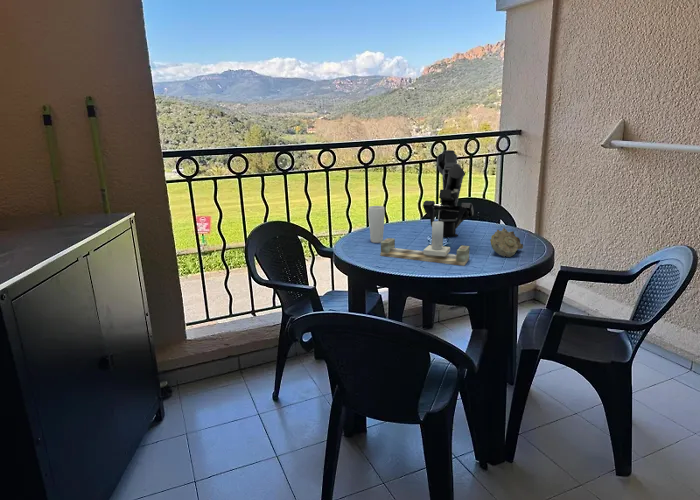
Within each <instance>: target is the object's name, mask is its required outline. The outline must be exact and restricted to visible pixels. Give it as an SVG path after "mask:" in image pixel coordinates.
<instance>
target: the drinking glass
mask: <svg viewBox="0 0 700 500" xmlns="http://www.w3.org/2000/svg"><path fill="white" fill-rule="evenodd" d="M367 211H368V214H367V215H368V216H367V217H368V225H369V235H370V238H369V239H370V242H371V243H373V244H381V242H382V241H384V231H385V230H384V228H385V216H386V215H385V213H386V212H385V206H384V205H371V206H369V207H368V210H367Z"/></svg>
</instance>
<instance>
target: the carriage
mask: <svg viewBox="0 0 700 500" xmlns="http://www.w3.org/2000/svg"><path fill="white" fill-rule="evenodd" d="M443 245H444V237H443V222H442V221H438V220H434V221H433V222H432V227H431V244H429V245H428V246H426V247H425V248H424V249H423V251H424V254H427V255H436V256H446V255H447V254H450V252H451V247H450V246H443Z"/></svg>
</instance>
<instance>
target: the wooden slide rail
mask: <svg viewBox="0 0 700 500" xmlns="http://www.w3.org/2000/svg"><path fill="white" fill-rule="evenodd" d="M395 242H396V239H395V238H392V237H391V238H390V237H387V238H385V239H383V241H382V242H381V243H380V254H379V255H380V257H387V258H394V259H395V258H397V259H405V260H413V261H419V262H420V261H421V262H428V263H438V264H444V265H445V264H446V265H454V266H461V267H465V265H466V264H467V263H468V262H469V260H470V248H471V247H470V245H460V246H459V248H458V249H456V254H454V253H448V254H447V255H446V256H436V255H427V254H424V250H417V249H407V248H397V247H396V245H395V244H396V243H395Z"/></svg>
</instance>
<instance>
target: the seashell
mask: <svg viewBox="0 0 700 500" xmlns="http://www.w3.org/2000/svg"><path fill="white" fill-rule="evenodd" d="M490 238H491V239H489V240H490V246H491V248H492V250H493V251H494V252H495V253H496V254H497V255H499V256H501V257H504V258H505V256H506V257H507V258H511V257H513V256H515V254H516V253H517V251H518V250H523V248H524V244H523V243H521V239H520V238H519V237H518V236H516V234H515V231H513V230H512V231H508V230H507V229H506V228H505V227H503V228H502V230H500V229H497V230H496V231H495V232H494V233H493V234H491V237H490Z"/></svg>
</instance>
